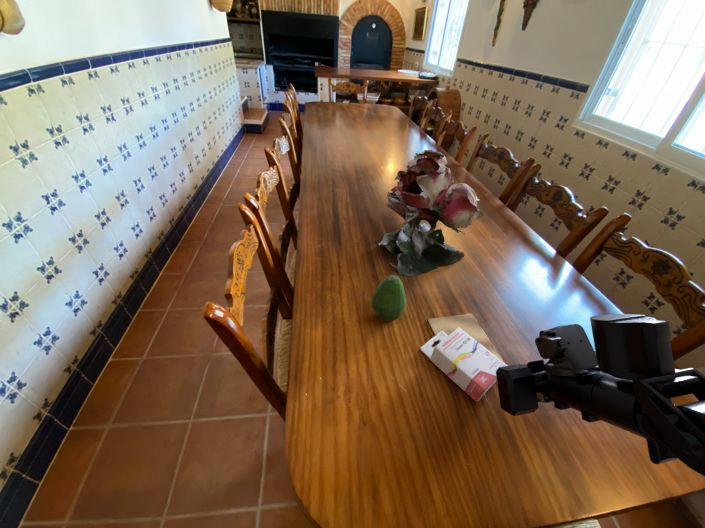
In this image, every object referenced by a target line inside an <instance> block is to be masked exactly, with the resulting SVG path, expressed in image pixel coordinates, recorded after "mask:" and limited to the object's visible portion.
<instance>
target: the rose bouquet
mask: <svg viewBox="0 0 705 528" xmlns="http://www.w3.org/2000/svg"><path fill="white" fill-rule="evenodd" d="M414 154H415V155H414V156H413V159H411V160H409V161H408V162H407V165H406V170H402V169H400V170H398V171H397V172H396V175H395V178H394V181H396V180H397V182H396V184H397V185H394V186H393V187H392V188H391V189H390V192H389V191H388V193H387V194H386V197H387V204H385V206H386V207H387V208H389V209H391V210H392V211H393V212H395V213H396V214H397V215H398V216H400V218H402V219H403V220H404V222H403V224H402V225H401V227H399V228H398V229H397V230H395V231H392V232H390V233H384V234H383V237H382V240H381V241H380V242H379V243H377V245H378V246H379V247H385V248H386V250H387V251H388V252H389V253H390V254H392V256H393V257H394V258H395V259H397V265H395V264H394V263H391V262H389V264H390V265H391V266H392V267H393V268H394V269H395V271H396V272H397V273H398V274H399V276H406V277H412V276H413V277H414V276H418V275H422V274H427V273H429V272H432V271H433V270H436V269H438V267H441V266H447V265H450V264H454V263H456V262H457V261H458V260H460V259H462V258H465V253H464V252H462V251H460V250H461V248H459V249H458V248H457V247H454V246H452V245H450V244H447V243H445V236H444V234H443V230H442V228H437V226H438V225H437V224H438V222H440V223H442V224H443V225H444V226H445V227H447V228H448V229H451V230H453V231H455V232H456V233H458V234H459V233H462V235H465V233H464V232H463V231H461V230H459V229H467V228H468V227H469V226H471V225H472V223H473V219H475V220H477V219H481V218H483V217H484V213H483V212H482V210H480V209H478V202H479V201H481V199H479V197H478V196H477V193H476V192H475V189H473V188H472V187H471V185H468V184H467V183H463V182H458V183H456V182H455V179H454V178H453V177H451V176H452V172H451V171H452V170H451V168H449V167H447V165H448V160H447V157H446V156H445V154H443V153H442V152H441V151H436V150H433V149H423V151H421V152H415V153H414ZM454 182H455V183H454ZM423 221H426V222H423ZM436 228H437V229H436ZM400 251H401V253H398V255H397V253H396V252H400Z"/></svg>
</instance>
